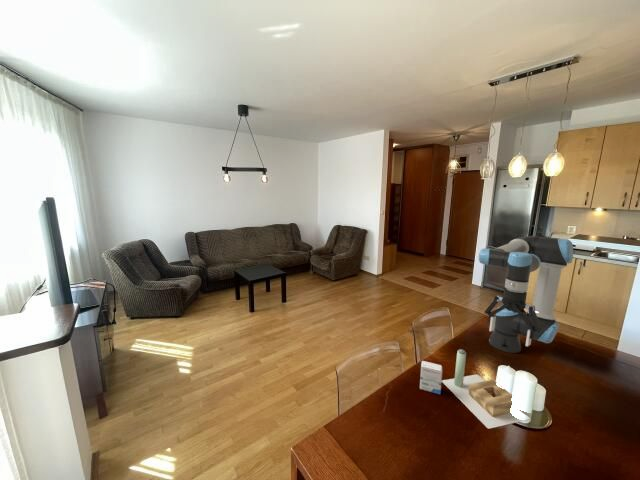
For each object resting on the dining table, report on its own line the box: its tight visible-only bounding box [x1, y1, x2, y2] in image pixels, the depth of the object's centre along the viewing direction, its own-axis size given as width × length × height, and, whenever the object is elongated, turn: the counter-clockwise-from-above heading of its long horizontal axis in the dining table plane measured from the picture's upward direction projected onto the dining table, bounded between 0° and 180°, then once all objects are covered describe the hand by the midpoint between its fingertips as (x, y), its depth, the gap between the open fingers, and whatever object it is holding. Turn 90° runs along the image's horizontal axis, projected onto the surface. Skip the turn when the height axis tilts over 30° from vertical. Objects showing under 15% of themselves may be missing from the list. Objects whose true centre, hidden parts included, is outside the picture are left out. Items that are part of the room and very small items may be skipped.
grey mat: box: [441, 373, 523, 429], centre depth 111 cm, size 26×20×1 cm
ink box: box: [419, 360, 443, 395], centre depth 116 cm, size 9×5×12 cm, turn 65°
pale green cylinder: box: [454, 348, 467, 387], centre depth 117 cm, size 4×4×17 cm
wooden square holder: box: [469, 379, 513, 417], centre depth 108 cm, size 12×12×5 cm
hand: (508, 337), depth 111 cm, fingers open, 13 cm apart
